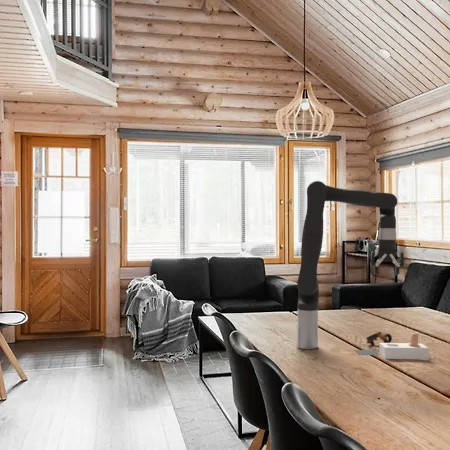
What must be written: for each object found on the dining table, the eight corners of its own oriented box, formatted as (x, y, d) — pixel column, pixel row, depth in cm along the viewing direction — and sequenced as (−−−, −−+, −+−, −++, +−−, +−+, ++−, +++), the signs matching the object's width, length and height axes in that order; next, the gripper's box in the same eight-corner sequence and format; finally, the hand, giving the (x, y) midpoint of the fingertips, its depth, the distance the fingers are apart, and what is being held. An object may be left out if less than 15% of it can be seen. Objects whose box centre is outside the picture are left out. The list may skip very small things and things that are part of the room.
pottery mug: (379, 352, 241) (370, 335, 243) (369, 357, 249) (360, 340, 251) (400, 343, 246) (391, 326, 248) (388, 348, 254) (380, 331, 256)
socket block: (384, 359, 225) (384, 347, 225) (379, 354, 234) (379, 342, 234) (428, 360, 225) (428, 348, 225) (421, 355, 234) (421, 343, 234)
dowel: (411, 358, 228) (411, 334, 228) (409, 356, 231) (409, 333, 231) (418, 358, 228) (419, 334, 228) (416, 356, 231) (416, 333, 231)
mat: (358, 355, 232) (358, 354, 232) (354, 350, 241) (354, 349, 241) (379, 356, 231) (379, 355, 231) (374, 351, 240) (374, 350, 240)
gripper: (373, 238, 238) (372, 275, 238) (406, 239, 237) (405, 276, 237) (369, 238, 245) (368, 274, 245) (401, 238, 245) (400, 274, 245)
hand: (386, 275), depth 241 cm, fingers open, 8 cm apart
